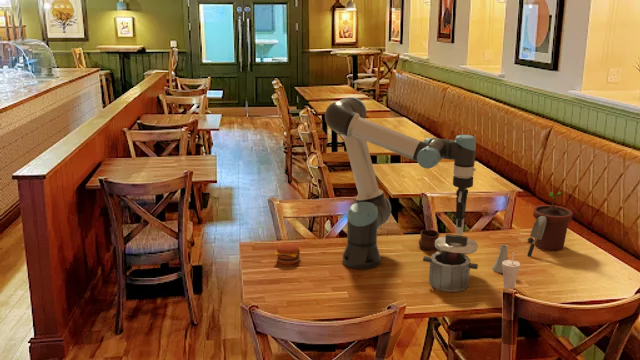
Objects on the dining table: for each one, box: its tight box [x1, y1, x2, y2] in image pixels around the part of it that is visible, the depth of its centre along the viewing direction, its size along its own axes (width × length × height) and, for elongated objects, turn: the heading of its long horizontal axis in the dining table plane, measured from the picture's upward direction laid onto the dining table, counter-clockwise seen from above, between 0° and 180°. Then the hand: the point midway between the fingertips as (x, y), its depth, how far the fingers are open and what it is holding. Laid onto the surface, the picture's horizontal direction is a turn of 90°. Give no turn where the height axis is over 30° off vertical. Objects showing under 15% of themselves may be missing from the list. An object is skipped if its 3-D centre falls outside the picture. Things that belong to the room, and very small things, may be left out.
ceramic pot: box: [418, 229, 440, 252], centre depth 263 cm, size 18×18×7 cm
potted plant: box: [526, 191, 574, 257], centre depth 261 cm, size 18×22×25 cm
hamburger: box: [274, 242, 302, 265], centre depth 250 cm, size 9×10×7 cm
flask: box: [492, 244, 509, 274], centre depth 241 cm, size 7×7×10 cm
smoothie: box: [502, 251, 521, 290], centre depth 225 cm, size 6×6×14 cm
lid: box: [435, 233, 479, 255], centre depth 237 cm, size 16×16×4 cm
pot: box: [422, 251, 479, 293], centre depth 229 cm, size 20×14×10 cm
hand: (459, 233), depth 243 cm, fingers closed
